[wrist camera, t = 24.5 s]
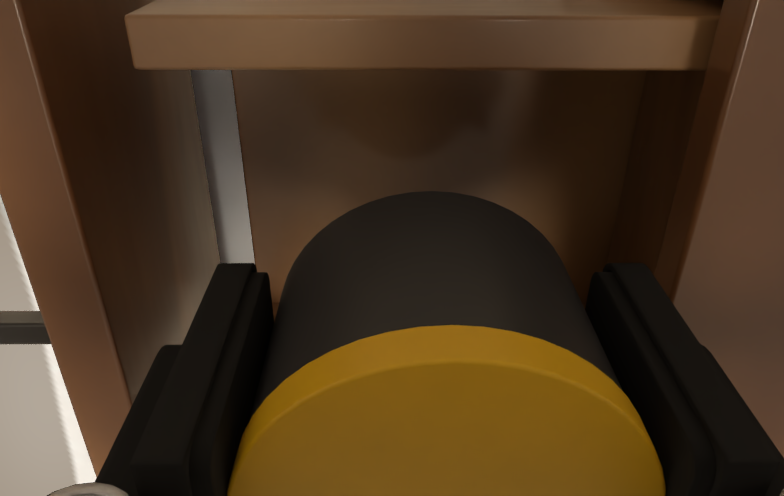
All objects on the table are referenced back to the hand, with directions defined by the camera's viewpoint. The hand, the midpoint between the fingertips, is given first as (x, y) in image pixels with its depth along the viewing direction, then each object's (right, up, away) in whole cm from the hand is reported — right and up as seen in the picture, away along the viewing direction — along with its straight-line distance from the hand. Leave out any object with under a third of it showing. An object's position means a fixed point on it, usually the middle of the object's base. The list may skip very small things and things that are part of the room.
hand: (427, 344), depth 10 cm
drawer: (-3, +4, +7) cm, 9 cm away
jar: (0, 0, +1) cm, 1 cm away
